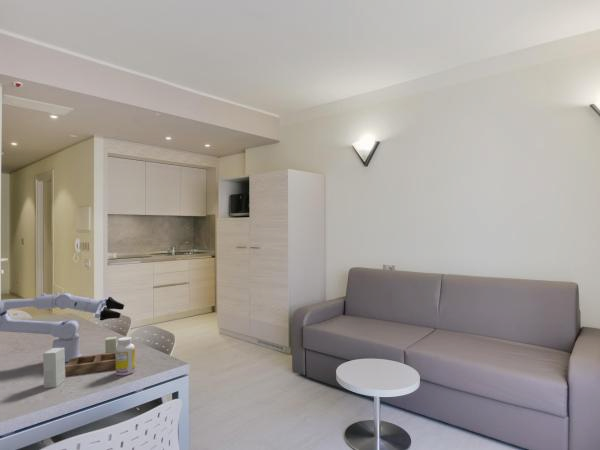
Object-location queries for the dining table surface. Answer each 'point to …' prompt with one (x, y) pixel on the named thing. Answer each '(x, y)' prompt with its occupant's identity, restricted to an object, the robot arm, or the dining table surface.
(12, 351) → the dining table surface
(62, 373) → the skincare box
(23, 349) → the dining table surface
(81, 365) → the walnut rail
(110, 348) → the sage peg
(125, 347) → the supplement bottle
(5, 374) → the dining table surface
